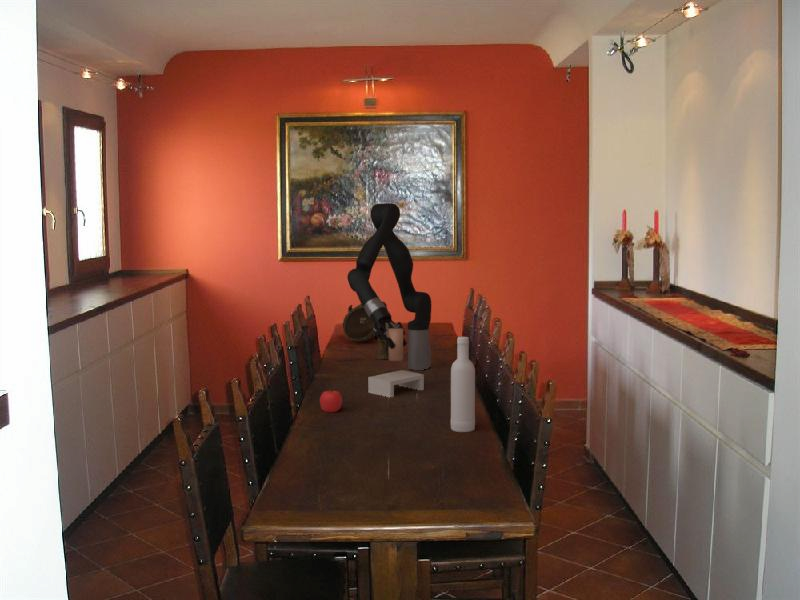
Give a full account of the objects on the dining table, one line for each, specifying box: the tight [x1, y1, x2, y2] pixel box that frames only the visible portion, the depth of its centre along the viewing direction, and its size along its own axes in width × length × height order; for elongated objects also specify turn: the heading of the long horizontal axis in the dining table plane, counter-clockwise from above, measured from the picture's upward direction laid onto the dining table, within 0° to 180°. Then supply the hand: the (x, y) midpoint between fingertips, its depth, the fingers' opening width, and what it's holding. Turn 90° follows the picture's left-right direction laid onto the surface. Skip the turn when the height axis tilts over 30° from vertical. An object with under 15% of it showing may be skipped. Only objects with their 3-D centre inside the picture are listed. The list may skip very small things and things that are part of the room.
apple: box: [319, 388, 343, 413], centre depth 312 cm, size 8×8×8 cm
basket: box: [342, 301, 388, 342], centre depth 459 cm, size 24×22×35 cm
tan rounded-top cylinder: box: [388, 327, 404, 362], centre depth 340 cm, size 6×6×12 cm
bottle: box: [450, 336, 476, 433], centre depth 286 cm, size 8×8×30 cm
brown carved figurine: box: [374, 334, 389, 361], centre depth 405 cm, size 9×14×18 cm, turn 0°
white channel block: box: [367, 369, 425, 398], centre depth 342 cm, size 18×12×6 cm, turn 135°
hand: (399, 346), depth 338 cm, fingers closed on tan rounded-top cylinder, 5 cm apart
